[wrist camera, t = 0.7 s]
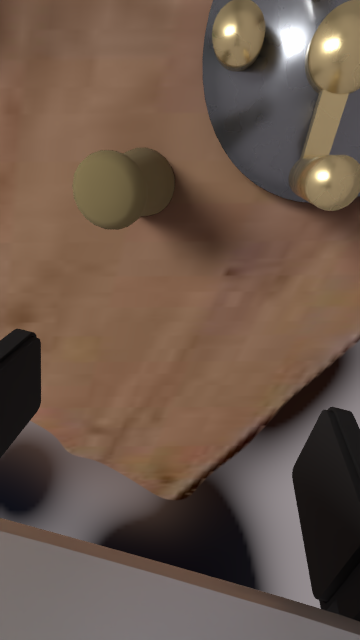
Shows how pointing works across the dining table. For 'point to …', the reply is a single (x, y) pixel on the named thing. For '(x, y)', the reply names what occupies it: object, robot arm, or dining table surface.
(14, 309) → the dining table surface
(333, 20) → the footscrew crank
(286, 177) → the base
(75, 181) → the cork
